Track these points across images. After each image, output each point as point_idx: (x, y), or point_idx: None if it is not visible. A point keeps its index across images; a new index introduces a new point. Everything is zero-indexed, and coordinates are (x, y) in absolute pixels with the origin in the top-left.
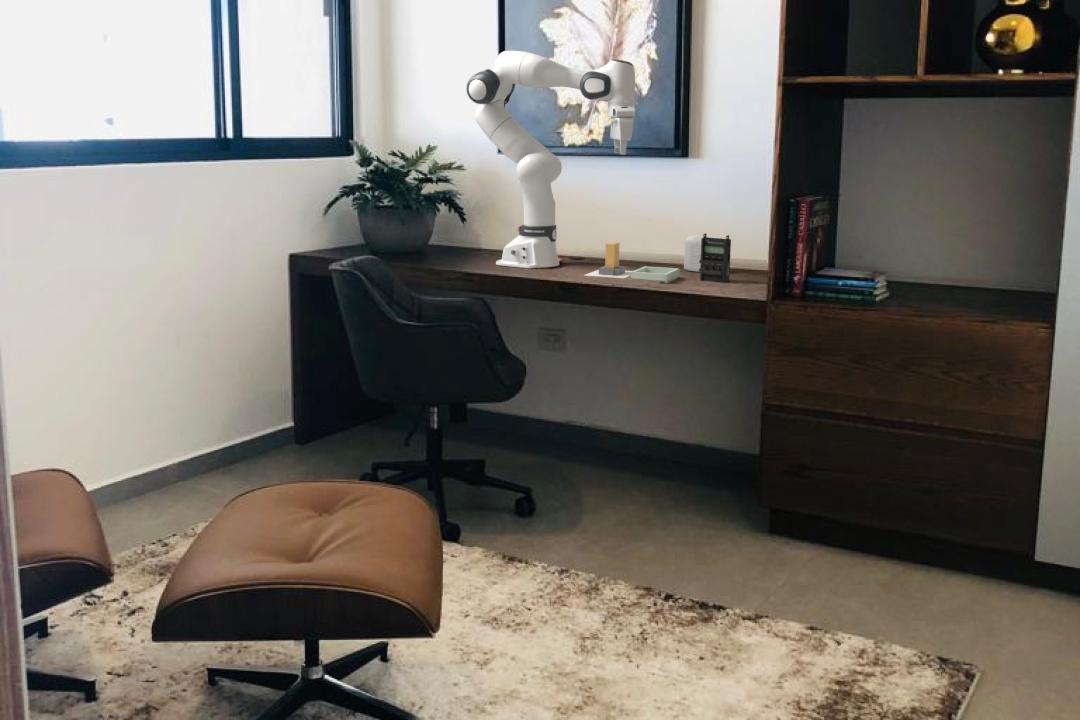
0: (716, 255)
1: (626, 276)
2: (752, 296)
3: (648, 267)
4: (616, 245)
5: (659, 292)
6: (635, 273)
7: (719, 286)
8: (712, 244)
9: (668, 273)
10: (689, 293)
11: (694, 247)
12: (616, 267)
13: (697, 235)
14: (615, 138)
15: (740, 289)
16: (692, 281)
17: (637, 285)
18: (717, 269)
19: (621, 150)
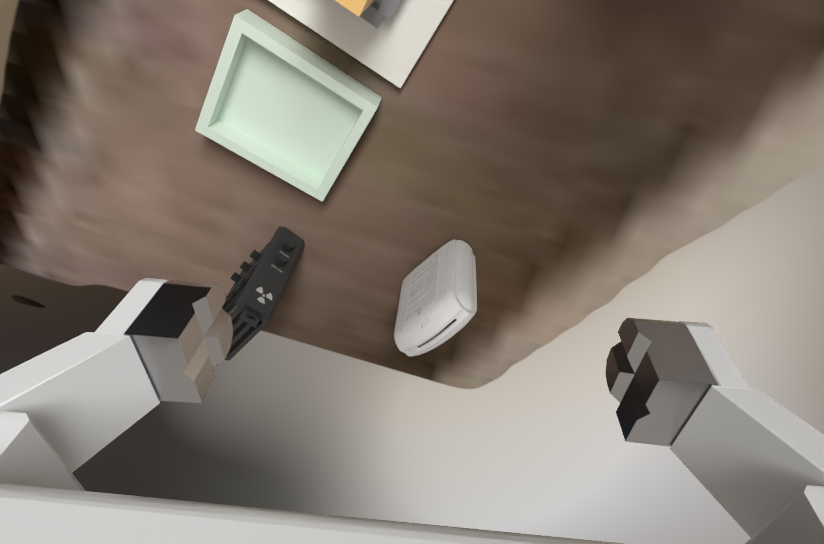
0: (235, 297)
1: (282, 3)
2: (58, 261)
3: (360, 115)
4: None
5: (38, 51)
6: (230, 31)
7: (187, 240)
8: (230, 311)
9: (216, 141)
10: (51, 135)
11: (426, 298)
12: None
13: (433, 333)
14: (362, 541)
15: (151, 268)
16: (262, 203)
17: (160, 11)
18: (234, 273)
19: (114, 327)
